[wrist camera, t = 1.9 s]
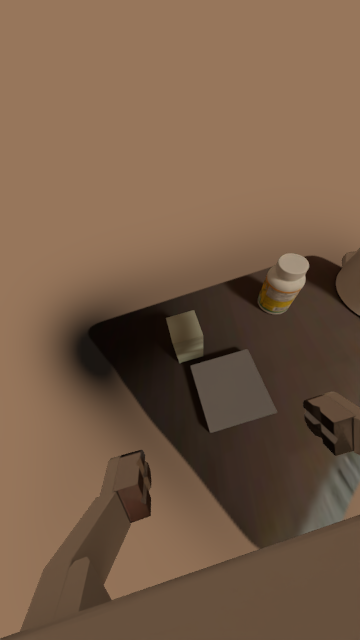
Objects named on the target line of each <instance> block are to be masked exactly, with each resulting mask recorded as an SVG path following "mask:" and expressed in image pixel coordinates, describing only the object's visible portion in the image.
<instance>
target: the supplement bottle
mask: <svg viewBox="0 0 360 640" xmlns="http://www.w3.org/2000/svg"><path fill="white" fill-rule="evenodd" d="M308 268H309V263H308V261H307V259H306V258H304V257H303V256H301V255H299V254H295V253H287V254H284V255H282V256H281V257H280V258H279V260H278V262H277V264H276V265H274V266H273V267H272V268H271V269H270V270H269V271H268V274H267V276H266V279H265V281H264V283H263V286H262V288H261V291H260V293H259V296H258V304H259V306H260V308H261V309H262V310H263V311H265V312H267V313H269V314H281V313H283V312H285V311H286V310H287V309H288V307H289V306H290V304H291V303H292V302H293V300H294V299H295V297H296V296H297V294H298V293H299V291H300V290H301V289H302V287H303V286H304V284H305V280H306V277H305V274H306V272H307V270H308Z"/></svg>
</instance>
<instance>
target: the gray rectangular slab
mask: <svg viewBox="0 0 360 640" xmlns="http://www.w3.org/2000/svg"><path fill="white" fill-rule="evenodd" d="M190 367H191V371H192V375H193V378H194V381H195V385H196V388H197V392H198V395H199V398H200V402H201V405H202V409H203V412H204V415H205V419H206V422H207V426H208V429H209V432H210V433H212V432H215V431H219V430H222V429H225V428H228V427H232V426H235V425H238V424H241V423H245V422H248V421H251V420H254V419H258V418H261V417H264V416H267V415H271V414H274V413H277V411H276V409H275V406H274V404H273V402H272V400H271V398H270V396H269V394H268V391H267V389H266V387H265V385H264V383H263V381H262V379H261V377H260V374H259V372H258V370H257V368H256V366H255V364H254V362H253V360H252V357H251V355H250V353H249V351H248V349H246V350H242V351H239V352H236V353H232V354H229V355H225V356H222V357H218V358H215V359H212V360H208V361H205V362H201V363H198V364H194V365H191V366H190Z"/></svg>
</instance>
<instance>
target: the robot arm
mask: <svg viewBox="0 0 360 640" xmlns="http://www.w3.org/2000/svg"><path fill="white" fill-rule="evenodd" d="M342 266H343V267H342V269H341V271H340V272H339V273H338V275H337V278H336V288H337V292H338V294H339V296H340V297H341V299H342V300H343V302H344V303H345V304H346V305H347V306H348V307H349V308H350V309H351V310H352V311H354V312H355V313H356V314H358V315H359V316H360V248H359V249H358V250H357V251H356V252H349V253H347V254H346V255H345V256H344V257H343V259H342ZM303 407H304V408H305V409H306V412H305V414H304V418H305V422H306V424H307V426H308V428H309V429H310V431H311V432H312V433H313V434H314V435H315V436H318V437H320V438H322V441H323V444H324V445H325V446H326V447H327V448H328V449H329V450H330V451H331V452H332V453H333V454H334V455H335V456H338V455H341V454H345V453H348V452H352V451H354V452H355V453H357V454H359V455H360V408H359V407H358V406H356V405H355V404H353V403H352V402H350V401H349V400H347V399H346V398H344V397H343V396H341V395H340V394H338V393H336V392H333V391H332V392H329V393H326V394H323V395H319V396H316V397H313V398H310V399H307V400H304V402H303ZM150 488H151V473H150V468H149V465H148V463H147V462H146V461H145V454H144V452H143V450H139V451H135V452H132V453H128V454H125V455H121V456H118V457H114V458H111V459H110V460H109V462H108V466H107V470H106V474H105V478H104V481H103V485H102V489H101V493H100V497H97V498H96V499H95V500H94V501H93V503H92V504H91V506H90V507H89V508H88V510H87V511H86V513H85V514H84V515H83V517H82V518H81V519H80V521H79V522H78V523H77V525H76V526H75V527H74V529H73V530H72V531H71V533H70V534H69V536H68V537H67V538H66V540H65V541H64V543H63V544H62V545H61V546H60V548H59V549H58V551H57V552H56V553H55V555H54V556H53V557H52V559H51V560H50V562H49V563H48V564H47V565H46V567H45V568H44V570H43V573H42V575H41V578H40V581H39V583H38V586H37V588H36V591H35V593H34V596H33V599H32V602H31V604H30V607H29V609H28V612H27V614H26V617H25V620H24V622H23V625H22V628H21V630H20V632H18V633H15V634H12V635H9V636H6V637H3V638H0V640H360V515H358V516H355V517H352V518H349V519H346V520H343V521H340V522H337V523H335V524H332V525H329V526H326V527H323V528H320V529H317V530H314V531H311V532H308V533H305V534H303V535H300V536H297V537H294V538H291V539H288V540H285V541H282V542H279V543H277V544H274V545H271V546H268V547H265V548H262V549H259V550H257V551H253V552H250V553H248V554H245V555H242V556H239V557H236V558H233V559H230V560H227V561H224V562H222V563H219V564H216V565H213V566H210V567H207V568H204V569H201V570H199V571H195V572H192V573H190V574H187V575H184V576H181V577H178V578H175V579H173V580H169V581H166V582H163V583H161V584H158V585H155V586H152V587H149V588H146V589H143V590H140V591H137V592H134V593H132V594H129V595H126V596H123V597H120V598H117V599H114V600H111V598H110V596H109V594H108V593H107V591H106V589H105V587H104V583H105V581H106V579H107V576H108V574H109V572H110V570H111V567H112V565H113V563H114V560H115V558H116V556H117V554H118V552H119V550H120V547H121V545H122V543H123V541H124V538H125V536H126V534H127V532H128V530H129V528H130V525H131V524H130V523H132V522H135V521H138V520H140V519H143V518H146V517H149V516H151V497H150V494H149V490H150Z"/></svg>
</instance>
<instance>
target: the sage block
mask: <svg viewBox="0 0 360 640" xmlns="http://www.w3.org/2000/svg"><path fill="white" fill-rule="evenodd" d="M166 320H167V324H168V328H169V332H170V336H171V339H172V343H173V346H174V349H175V352H176V355H177V358H178V361H179V363H182V362H185V361H189V360H192V359H196V358H199V357H202V356H203V334H202V331H201V328H200V325H199V323H198V320H197V317H196V314H195V312H194V310H193V311H189V312H186V313H182V314H179V315H175V316H172V317H168V318H166Z"/></svg>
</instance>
